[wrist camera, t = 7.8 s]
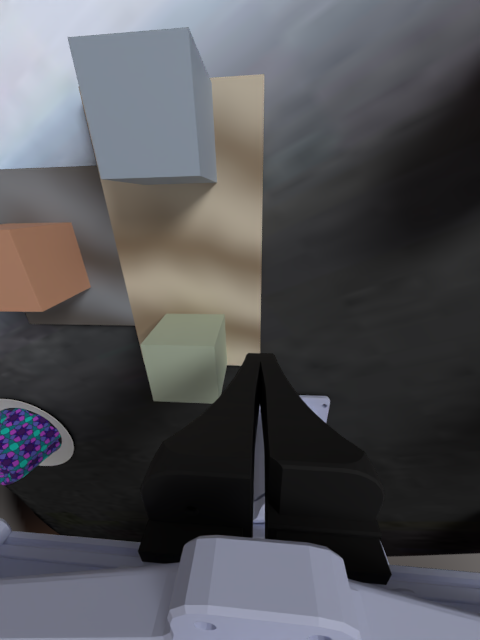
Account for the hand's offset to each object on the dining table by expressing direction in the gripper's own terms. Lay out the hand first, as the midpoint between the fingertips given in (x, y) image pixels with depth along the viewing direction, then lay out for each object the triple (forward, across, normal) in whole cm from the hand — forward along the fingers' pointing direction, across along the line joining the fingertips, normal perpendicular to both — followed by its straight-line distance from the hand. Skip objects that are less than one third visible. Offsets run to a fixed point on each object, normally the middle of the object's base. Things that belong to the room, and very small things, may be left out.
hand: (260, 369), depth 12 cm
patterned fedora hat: (+10, +29, +18) cm, 35 cm away
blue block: (+8, +6, -11) cm, 15 cm away
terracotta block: (+8, +16, -4) cm, 19 cm away
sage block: (+8, +6, +3) cm, 10 cm away
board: (+9, +10, -4) cm, 14 cm away
